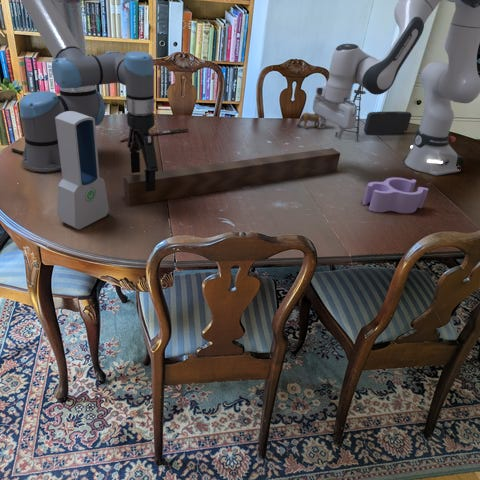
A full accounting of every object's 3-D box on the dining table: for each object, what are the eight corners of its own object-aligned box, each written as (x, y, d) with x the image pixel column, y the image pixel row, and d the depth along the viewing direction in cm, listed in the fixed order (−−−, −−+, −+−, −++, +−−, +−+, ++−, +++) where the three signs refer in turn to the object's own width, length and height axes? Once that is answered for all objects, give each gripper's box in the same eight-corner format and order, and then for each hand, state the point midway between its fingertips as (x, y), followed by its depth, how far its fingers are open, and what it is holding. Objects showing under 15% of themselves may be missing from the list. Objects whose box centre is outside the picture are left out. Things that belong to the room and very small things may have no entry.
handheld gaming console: (403, 131, 225) (409, 110, 219) (406, 133, 222) (412, 112, 217) (362, 132, 217) (367, 111, 212) (365, 134, 215) (370, 113, 210)
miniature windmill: (357, 141, 207) (374, 71, 190) (338, 138, 208) (353, 69, 191) (357, 134, 214) (373, 67, 198) (339, 132, 215) (353, 64, 199)
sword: (184, 128, 200) (184, 125, 199) (188, 130, 198) (188, 128, 197) (117, 141, 184) (116, 138, 183) (120, 143, 182) (120, 140, 181)
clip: (376, 216, 149) (381, 197, 146) (356, 198, 159) (361, 179, 155) (427, 211, 156) (433, 192, 152) (405, 194, 165) (410, 176, 162)
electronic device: (76, 231, 126) (63, 124, 110) (57, 222, 129) (42, 116, 113) (110, 214, 135) (103, 112, 119) (91, 206, 138) (82, 105, 122)
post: (129, 205, 141) (128, 183, 137) (124, 198, 145) (123, 176, 141) (336, 171, 177) (340, 153, 173) (328, 166, 181) (332, 147, 177)
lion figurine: (321, 124, 222) (325, 105, 217) (326, 128, 218) (330, 109, 213) (293, 125, 217) (296, 106, 212) (298, 129, 213) (302, 110, 208)
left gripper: (169, 125, 123) (169, 197, 134) (139, 98, 141) (141, 163, 152) (142, 127, 120) (144, 201, 131) (114, 100, 137) (118, 166, 149)
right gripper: (364, 102, 155) (355, 142, 163) (327, 85, 170) (320, 122, 177) (350, 104, 152) (341, 144, 160) (313, 86, 167) (306, 124, 174)
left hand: (142, 181), depth 142 cm, fingers open, 13 cm apart
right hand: (329, 132), depth 169 cm, fingers open, 8 cm apart
